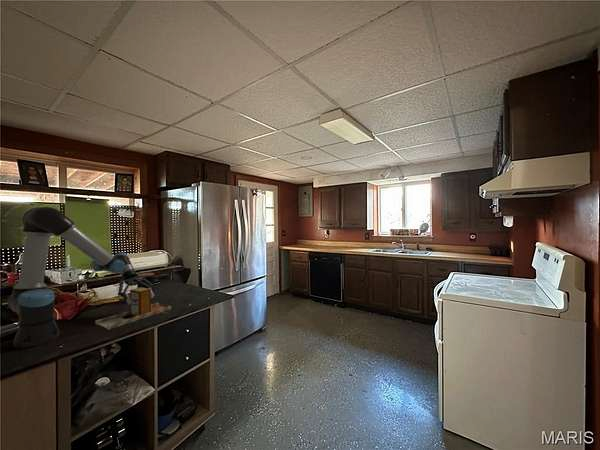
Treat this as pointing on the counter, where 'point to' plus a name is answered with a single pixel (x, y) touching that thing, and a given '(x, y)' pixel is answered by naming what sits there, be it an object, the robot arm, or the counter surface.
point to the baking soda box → (140, 301)
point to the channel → (130, 318)
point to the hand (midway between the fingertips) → (141, 300)
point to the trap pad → (156, 308)
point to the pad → (111, 322)
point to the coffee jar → (148, 277)
